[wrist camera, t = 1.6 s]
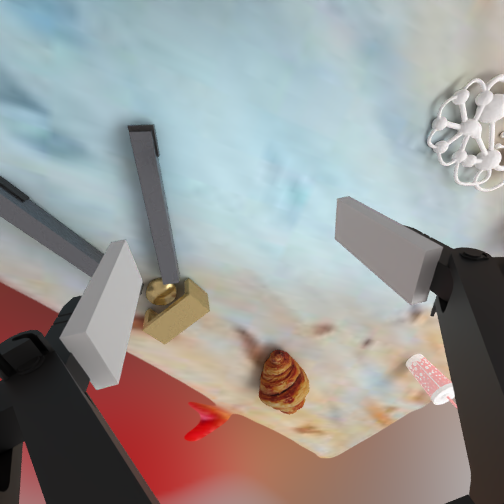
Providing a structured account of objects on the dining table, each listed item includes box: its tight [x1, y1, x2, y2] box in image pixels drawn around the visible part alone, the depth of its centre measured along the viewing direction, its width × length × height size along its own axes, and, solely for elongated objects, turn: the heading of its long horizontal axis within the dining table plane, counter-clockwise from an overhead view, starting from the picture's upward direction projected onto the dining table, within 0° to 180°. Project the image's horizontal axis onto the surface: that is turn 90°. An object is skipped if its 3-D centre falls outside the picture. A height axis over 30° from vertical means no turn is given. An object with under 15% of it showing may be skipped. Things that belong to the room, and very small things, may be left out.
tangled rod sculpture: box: [427, 74, 504, 192], centre depth 35 cm, size 19×14×4 cm
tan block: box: [142, 278, 210, 344], centre depth 36 cm, size 4×8×4 cm, turn 125°
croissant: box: [259, 350, 309, 415], centre depth 51 cm, size 21×10×8 cm, turn 12°
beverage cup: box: [406, 354, 457, 408], centre depth 56 cm, size 6×6×14 cm
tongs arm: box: [128, 124, 179, 285], centre depth 30 cm, size 18×2×2 cm, turn 0°
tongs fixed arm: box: [0, 176, 177, 305], centre depth 31 cm, size 23×5×2 cm, turn 35°
